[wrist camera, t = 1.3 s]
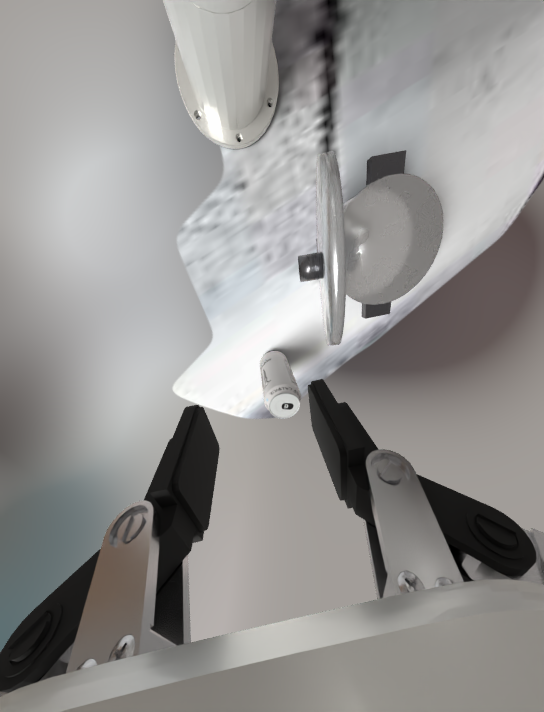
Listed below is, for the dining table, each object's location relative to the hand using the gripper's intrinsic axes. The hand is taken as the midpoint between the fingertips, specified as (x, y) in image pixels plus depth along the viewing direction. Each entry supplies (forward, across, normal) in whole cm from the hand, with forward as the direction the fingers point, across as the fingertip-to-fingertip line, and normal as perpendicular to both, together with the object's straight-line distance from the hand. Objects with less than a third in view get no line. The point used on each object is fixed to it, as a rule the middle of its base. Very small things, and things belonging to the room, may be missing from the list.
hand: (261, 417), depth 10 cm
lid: (+15, -10, -5) cm, 19 cm away
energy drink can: (+32, -2, +14) cm, 35 cm away
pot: (+31, -21, -5) cm, 38 cm away
